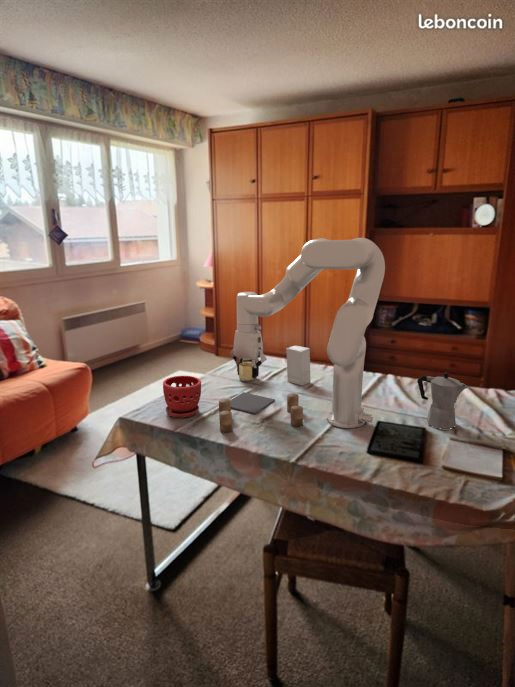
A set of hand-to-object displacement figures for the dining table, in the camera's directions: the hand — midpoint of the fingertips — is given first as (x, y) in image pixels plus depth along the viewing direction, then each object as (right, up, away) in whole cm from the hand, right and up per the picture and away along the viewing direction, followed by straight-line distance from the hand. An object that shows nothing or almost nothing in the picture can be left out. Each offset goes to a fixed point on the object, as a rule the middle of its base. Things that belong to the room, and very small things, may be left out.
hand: (247, 375), depth 166 cm
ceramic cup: (-1, -4, +27) cm, 27 cm away
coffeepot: (+63, -15, -14) cm, 66 cm away
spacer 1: (-8, -14, -8) cm, 18 cm away
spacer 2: (-7, -17, -18) cm, 25 cm away
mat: (0, -11, +3) cm, 11 cm away
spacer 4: (+16, -15, -14) cm, 27 cm away
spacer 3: (+16, -12, -4) cm, 21 cm away
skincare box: (+20, -5, +24) cm, 32 cm away
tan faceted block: (0, -1, 0) cm, 1 cm away
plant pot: (-23, -13, -4) cm, 26 cm away
